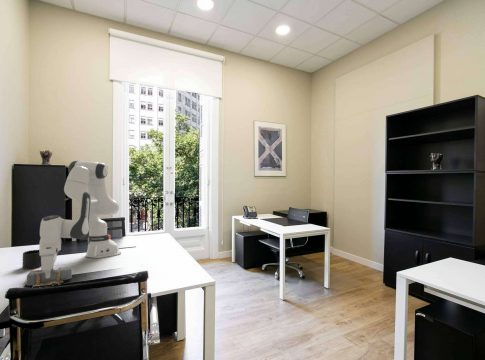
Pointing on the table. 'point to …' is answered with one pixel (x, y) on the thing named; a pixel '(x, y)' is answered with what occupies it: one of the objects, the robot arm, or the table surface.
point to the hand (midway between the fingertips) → (49, 274)
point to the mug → (31, 259)
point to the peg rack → (48, 282)
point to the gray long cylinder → (64, 275)
